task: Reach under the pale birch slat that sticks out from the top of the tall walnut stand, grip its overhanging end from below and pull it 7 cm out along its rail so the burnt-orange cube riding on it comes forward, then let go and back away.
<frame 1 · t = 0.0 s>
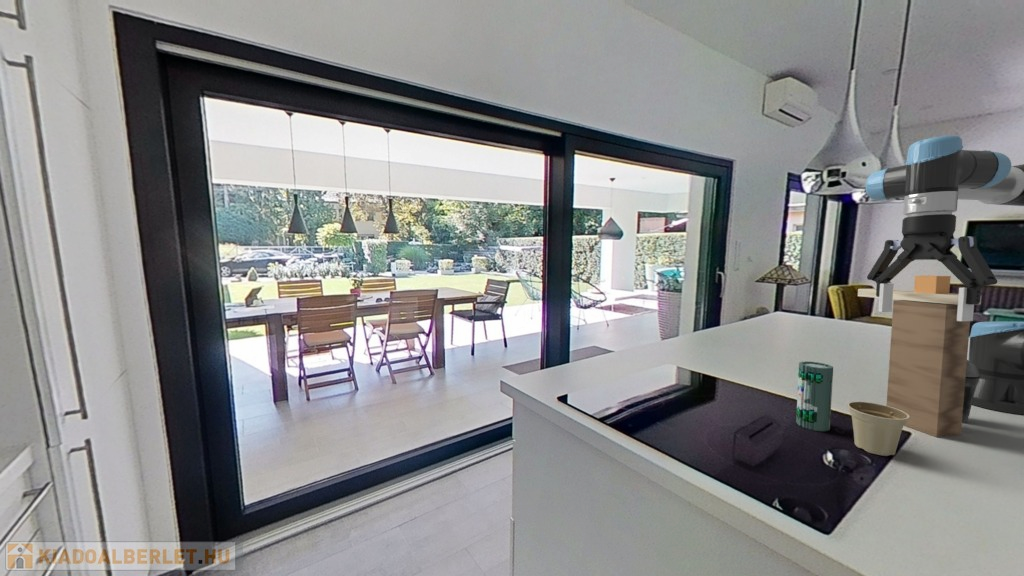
hand: (921, 316, 80), 28 cm above the worktop, tool pointing down, fingers open, 13 cm apart
slat: (912, 295, 91), point 31 cm above the worktop, slide at 0.0 cm, touching cube
can: (812, 426, 91), on the worktop
cube: (931, 292, 88), point 32 cm above the worktop, touching slat
stand: (921, 426, 90), on the worktop
flower pot: (874, 450, 79), on the worktop
beverage cup: (953, 419, 94), on the worktop
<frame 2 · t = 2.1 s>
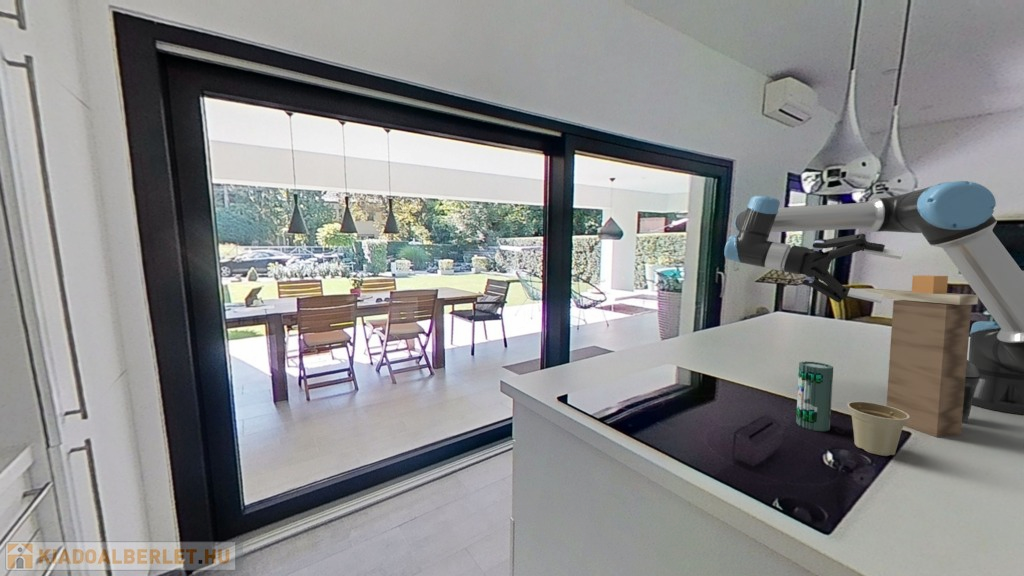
hand: (892, 277, 90), 36 cm above the worktop, tool horizontal, fingers open, 13 cm apart
slat: (910, 295, 92), point 31 cm above the worktop, slide at 0.5 cm, touching cube, gripper
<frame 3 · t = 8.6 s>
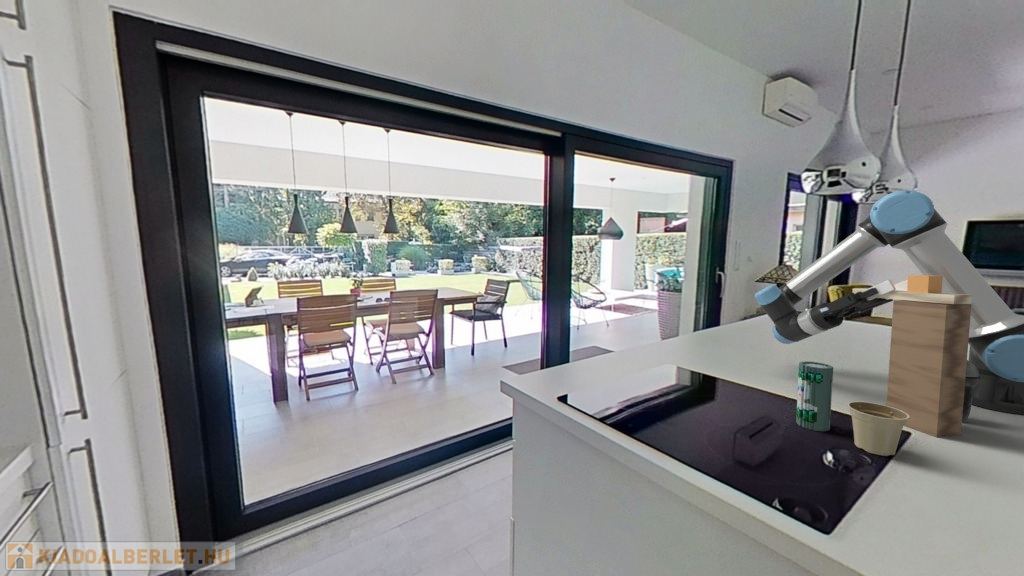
hand: (901, 284, 93), 34 cm above the worktop, tool pointing upward, fingers closed on slat, 5 cm apart
slat: (905, 295, 93), point 31 cm above the worktop, slide at 1.4 cm, touching cube, gripper
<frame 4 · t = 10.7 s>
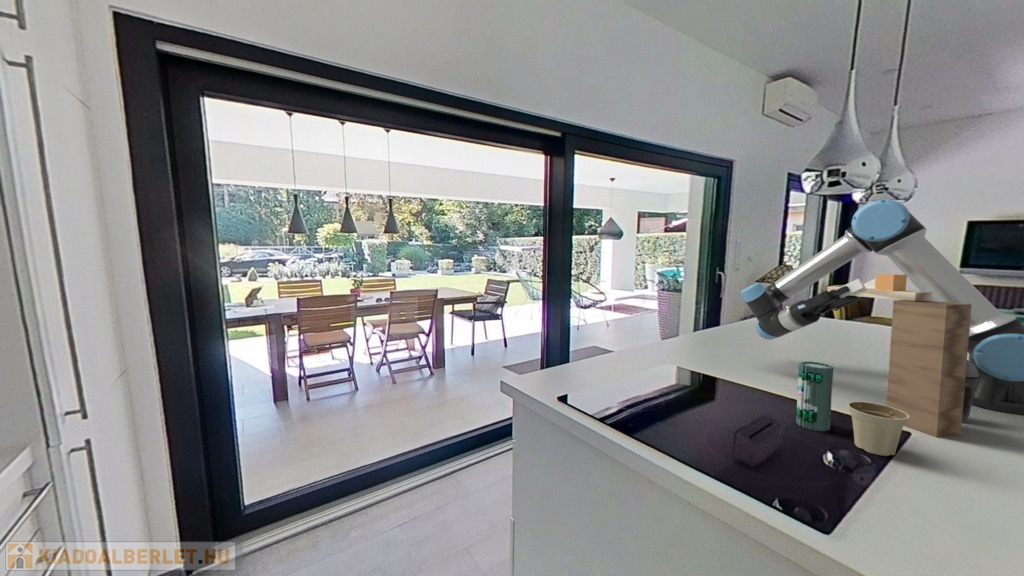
hand: (870, 282, 100), 34 cm above the worktop, tool pointing upward, fingers closed on slat, 5 cm apart
slat: (874, 292, 99), point 31 cm above the worktop, slide at 8.4 cm, touching cube, gripper
cube: (890, 290, 96), point 32 cm above the worktop, touching slat
everything else where it was.
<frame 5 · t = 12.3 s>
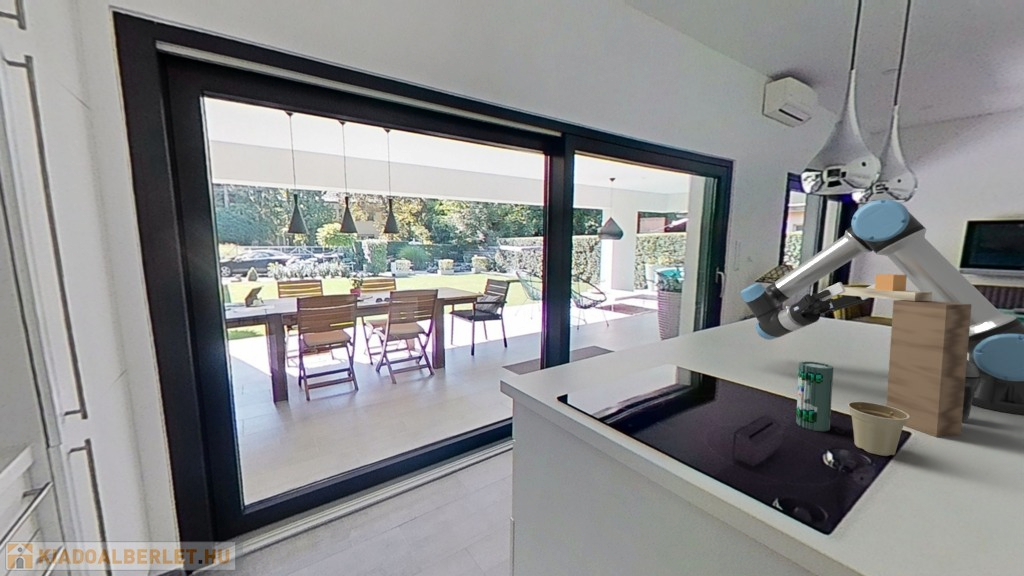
hand: (863, 286, 102), 33 cm above the worktop, tool pointing upward, fingers open, 13 cm apart
slat: (874, 292, 99), point 31 cm above the worktop, slide at 8.4 cm, touching cube
everything else where it was.
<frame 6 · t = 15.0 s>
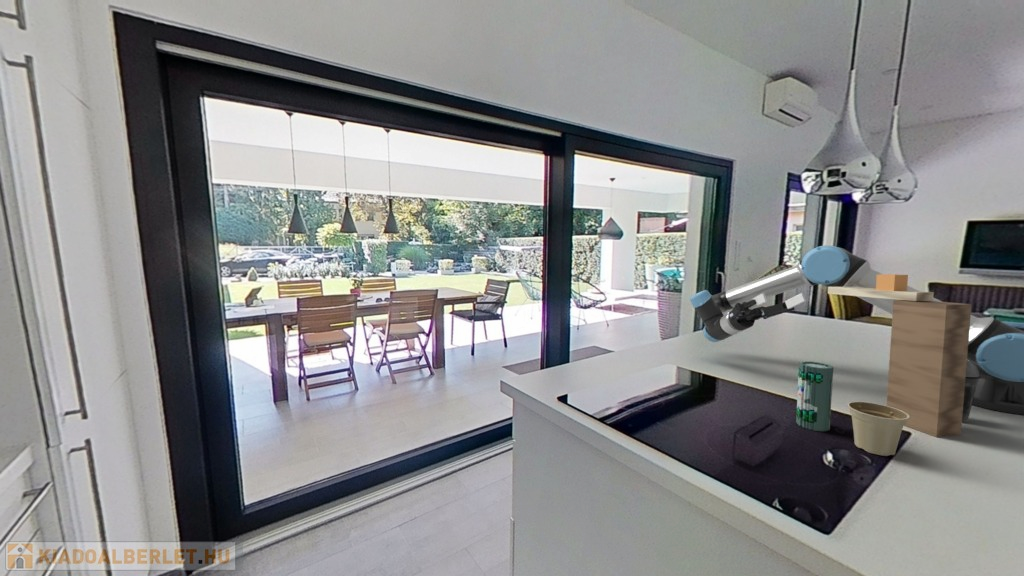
hand: (784, 297, 114), 29 cm above the worktop, tool pointing upward, fingers open, 13 cm apart
slat: (875, 293, 99), point 31 cm above the worktop, slide at 8.1 cm, touching arm, cube
everything else where it was.
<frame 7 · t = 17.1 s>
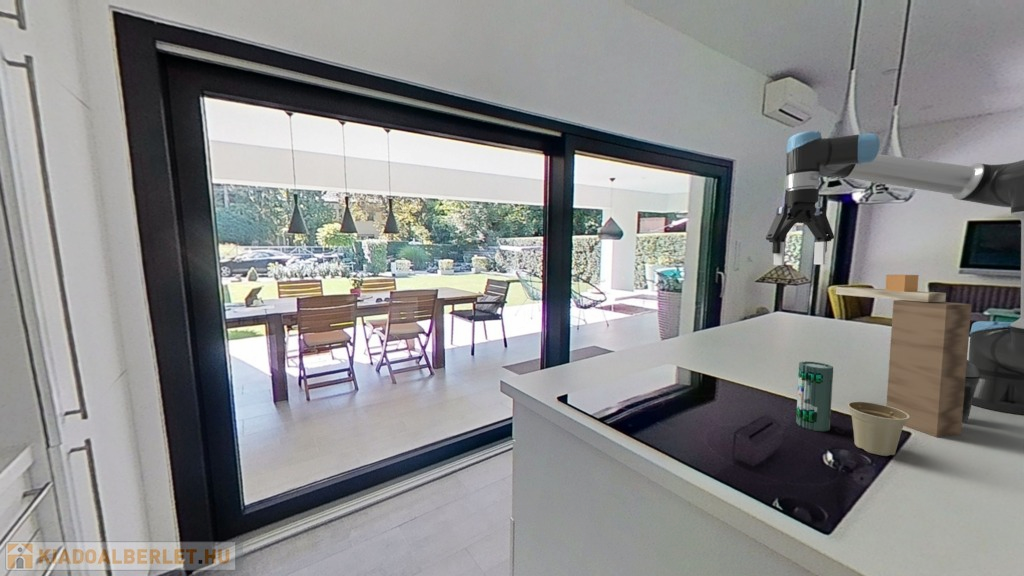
hand: (799, 265, 108), 39 cm above the worktop, tool pointing down, fingers open, 13 cm apart
slat: (885, 293, 97), point 31 cm above the worktop, slide at 5.9 cm, touching cube
cube: (901, 290, 94), point 32 cm above the worktop, touching slat
everything else where it was.
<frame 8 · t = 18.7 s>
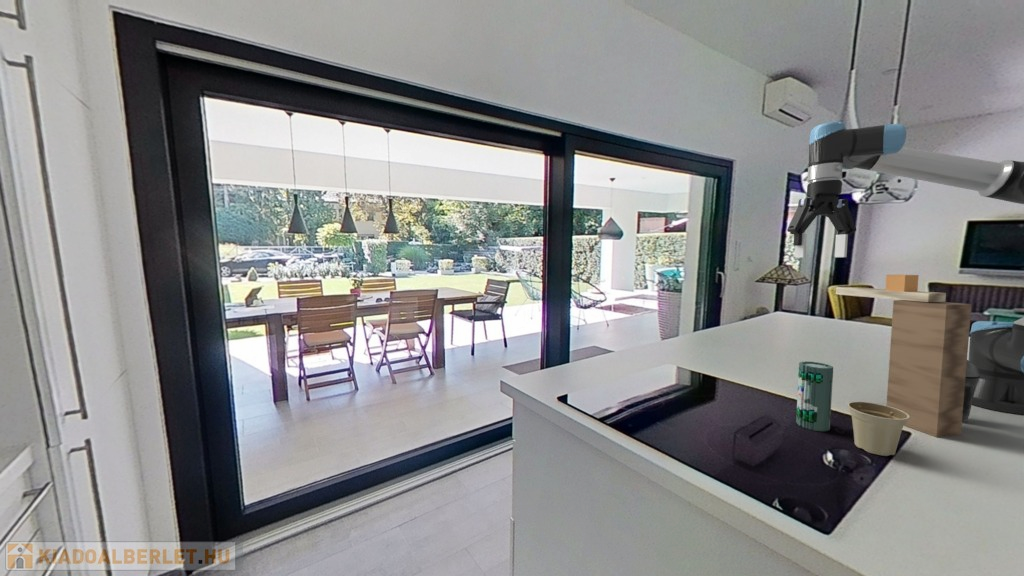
hand: (820, 257, 107), 41 cm above the worktop, tool pointing down, fingers open, 13 cm apart
nothing on the worktop moved.
at the end: slat slide at 5.9 cm; cube moved 6.0 cm from its start; cube point 32.2 cm above the worktop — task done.
